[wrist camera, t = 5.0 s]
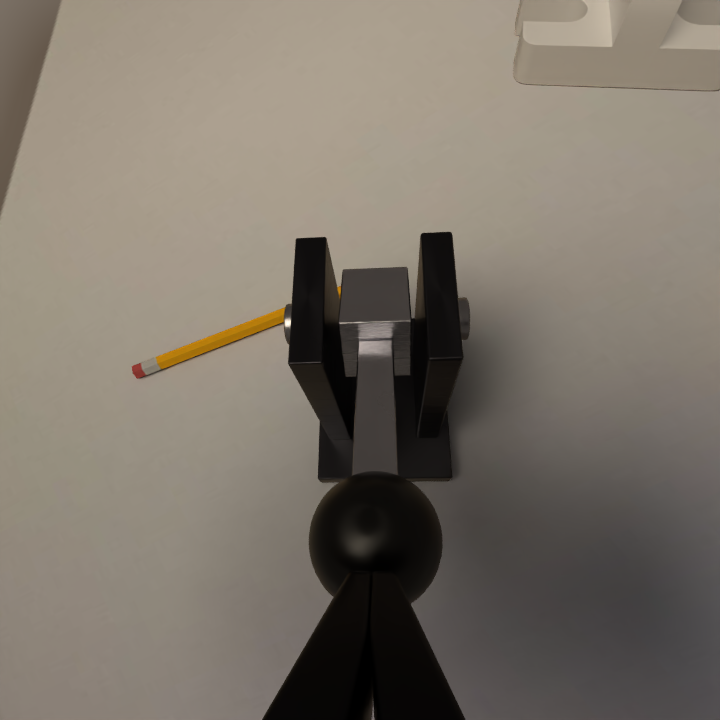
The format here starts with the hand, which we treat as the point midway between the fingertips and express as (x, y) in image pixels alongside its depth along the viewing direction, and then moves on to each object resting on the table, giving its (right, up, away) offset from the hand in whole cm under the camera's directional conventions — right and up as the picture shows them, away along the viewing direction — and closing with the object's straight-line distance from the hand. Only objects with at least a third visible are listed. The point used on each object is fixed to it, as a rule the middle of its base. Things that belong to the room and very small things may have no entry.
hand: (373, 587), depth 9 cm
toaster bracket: (+1, +2, +15) cm, 15 cm away
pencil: (-6, +6, +18) cm, 19 cm away
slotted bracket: (+17, +25, +24) cm, 38 cm away
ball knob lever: (0, +2, +6) cm, 6 cm away
